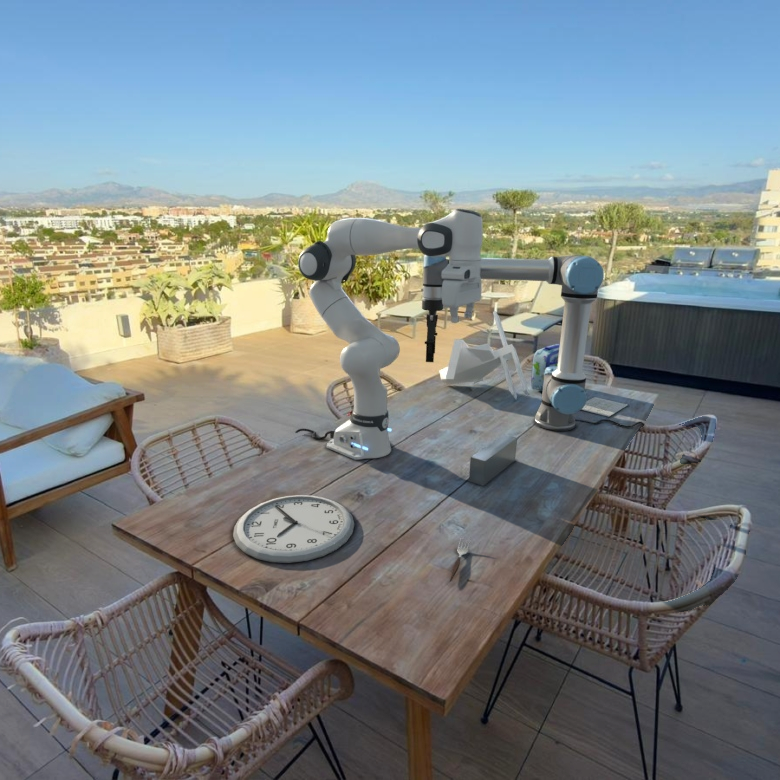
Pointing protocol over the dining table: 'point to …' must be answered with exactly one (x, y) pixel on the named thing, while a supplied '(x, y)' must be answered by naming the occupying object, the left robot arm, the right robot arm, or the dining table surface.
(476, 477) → the bar
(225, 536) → the dining table surface
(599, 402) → the invitation card
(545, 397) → the right robot arm
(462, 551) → the fork
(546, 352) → the lunch box
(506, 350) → the white plastic object
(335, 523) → the wall clock
